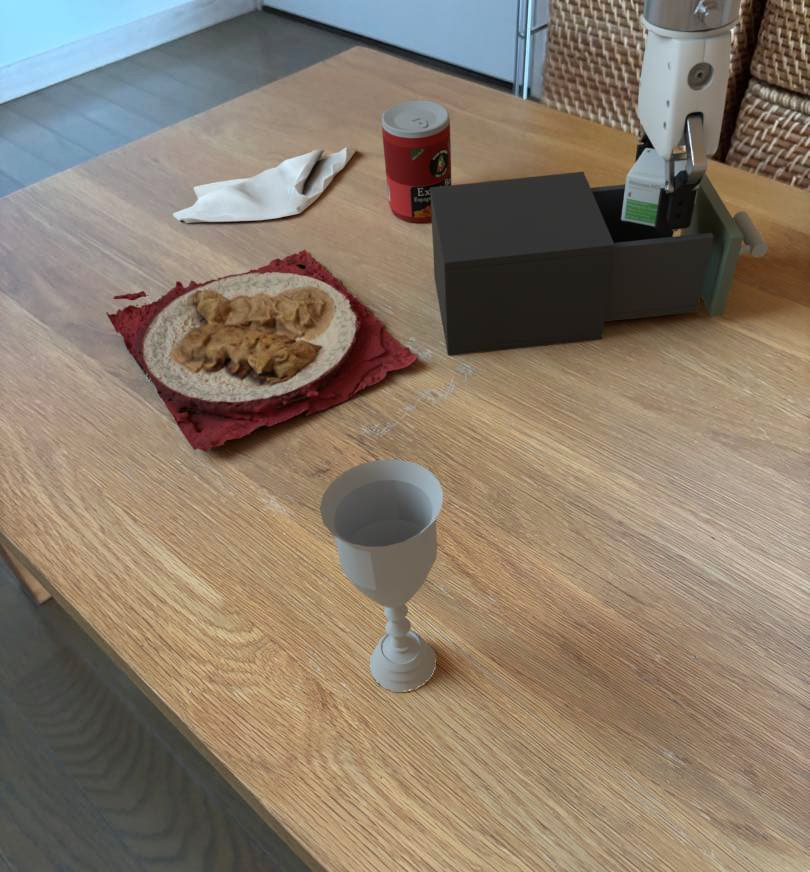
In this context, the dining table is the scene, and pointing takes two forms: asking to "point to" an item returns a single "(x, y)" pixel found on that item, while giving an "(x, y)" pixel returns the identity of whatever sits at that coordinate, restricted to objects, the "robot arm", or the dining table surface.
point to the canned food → (415, 156)
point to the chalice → (388, 554)
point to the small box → (646, 187)
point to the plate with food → (256, 348)
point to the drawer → (675, 257)
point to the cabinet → (520, 262)
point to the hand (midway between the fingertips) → (660, 204)
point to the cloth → (267, 190)
